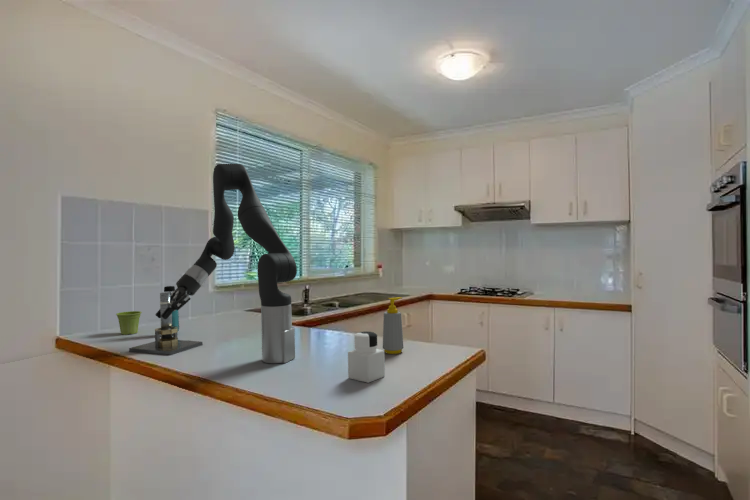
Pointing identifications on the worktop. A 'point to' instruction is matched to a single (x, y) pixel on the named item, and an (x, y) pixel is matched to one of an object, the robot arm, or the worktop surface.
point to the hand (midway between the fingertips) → (160, 317)
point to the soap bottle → (392, 329)
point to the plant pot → (129, 322)
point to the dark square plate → (166, 344)
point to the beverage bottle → (175, 313)
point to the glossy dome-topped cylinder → (164, 304)
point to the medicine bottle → (366, 358)
